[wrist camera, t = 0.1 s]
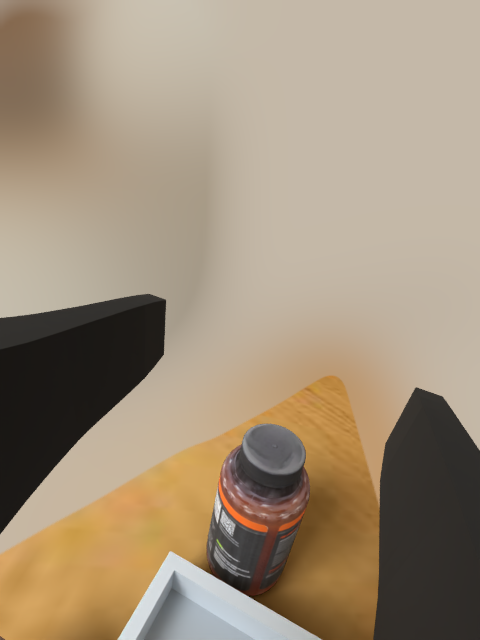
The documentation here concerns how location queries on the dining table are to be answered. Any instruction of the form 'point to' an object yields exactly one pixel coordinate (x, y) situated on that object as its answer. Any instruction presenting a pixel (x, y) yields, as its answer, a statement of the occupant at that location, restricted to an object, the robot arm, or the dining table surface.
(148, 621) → the bore box
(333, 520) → the dining table surface
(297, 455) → the supplement bottle
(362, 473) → the dining table surface
